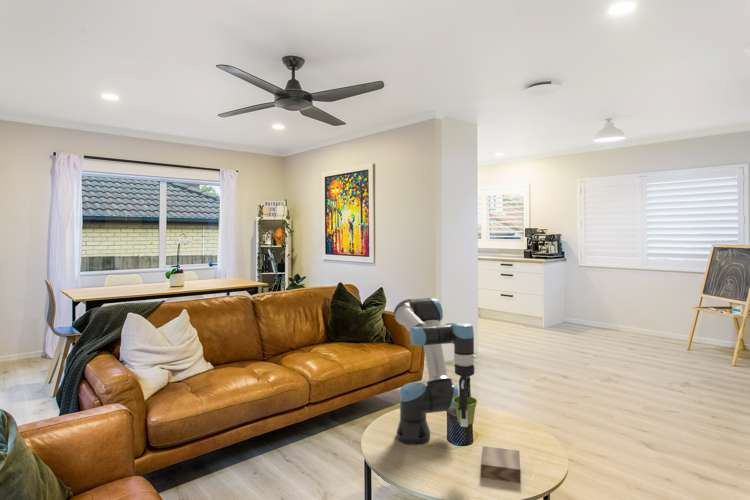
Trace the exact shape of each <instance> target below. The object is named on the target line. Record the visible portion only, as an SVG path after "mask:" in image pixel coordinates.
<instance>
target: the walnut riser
mask: <svg viewBox="0 0 750 500" xmlns="http://www.w3.org/2000/svg"><path fill="white" fill-rule="evenodd" d="M520 458H521V457H520V450H517V449H509V448H508V449H507V448H500V447H492V446H485V445H484V446H482V452H481V461H480V477H481V478H483V479H489V480H491V479H492V480H498V481H504V482H505V481H506V482H511V483H516V484H517V483H518V484H521V483H522V482H521V478H522V477H521V476H522V475H521V459H520Z"/></svg>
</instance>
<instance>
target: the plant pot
mask: <svg viewBox="0 0 750 500" xmlns="http://www.w3.org/2000/svg"><path fill="white" fill-rule="evenodd" d="M453 402H454V405H455V415H456V421H457V423H458V424H460V410H458V408H459V396H458V397H455V398H453ZM477 403H478V399H477V398H476V397H473V396H471V397H467V410H468V426H470V425H473V424H474V420H475V411H476V407H477Z"/></svg>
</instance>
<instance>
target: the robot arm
mask: <svg viewBox="0 0 750 500" xmlns="http://www.w3.org/2000/svg"><path fill="white" fill-rule="evenodd" d="M443 311H444V310H443V307H442V304H441V302H440V301H439V300H438V299H437V298H435V297H433V298H431V297H426V298H409V299H408V298H407V299H404V300H402V301H400V302H399V303H398V304H397V305H395V308H394V310H393V316H394V319H395V321H396V323H398V324H399V325H401V326H403V327H404V328H405V329H406V330H407V331H408V332H409V341H410V343H411V345H412V346H417V347H418V346H419V347H423V351H424V356H425V360H426V361H425V362H426V367H427V373H428V379H427V380H426V384H425V383H424V382H421V381H418V382H417V381H414V382H413V381H412V382H408V383H405V384H403V386H402V387H400V390H399V399H398V400H399V413H400V414H399V422H398V426H397V429H396V439H398V441H400V442H401V443H404V444H406V445H422V444H425V443H426V442H428V441H430V440H431V429H430V427H429V424H428V422H427V414H431V413H441V412H446V413H447V412H449V411H448V410H449V409H450V408H451V409H452V408H455V405H454V402H453V398H455V397H458V396H459V408H458V410H460V423H459V424H460V427H462V428H463V427H464V428H469V427H468V426H469V425H468V410H467V397H472V393H471V376H474V374H475V365H474V364H475V359H476V355H474V354H475V349H474V348H475V343H474V342H475V337H474V336H475V332H474V326H473V325H472V324H471V323H467V322H458V323H453V322H447V323H445V324H441V321H442V320H443V317H444V315H443V314H444V312H443ZM446 344H452V345H453V347H454V349H453V350H454V351H453V352H454V355H453V358H454V363H455V364H454V374H456V375H457V376H460V377H459V379H458V385H457V383H455V382H452V378H451V377H449V375H448V372H447V365H446V360H445V356H444V351H443V345H446Z"/></svg>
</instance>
